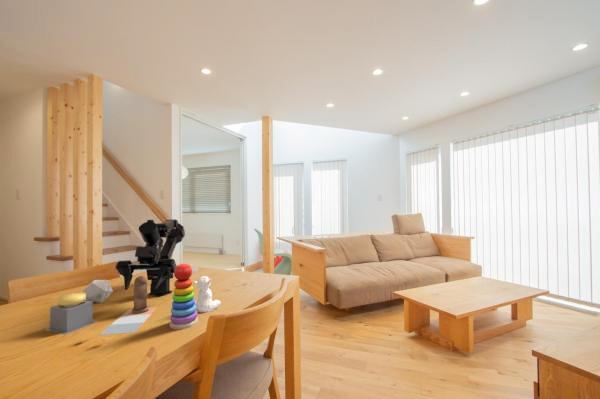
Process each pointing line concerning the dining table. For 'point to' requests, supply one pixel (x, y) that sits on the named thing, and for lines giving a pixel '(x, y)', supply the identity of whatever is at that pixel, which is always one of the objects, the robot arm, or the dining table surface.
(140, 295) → the brown round-topped post
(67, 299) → the dome button
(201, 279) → the seated beast figurine
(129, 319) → the game board
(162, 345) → the dining table surface
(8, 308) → the dining table surface
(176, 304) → the stacking toy
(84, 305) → the box
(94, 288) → the die
